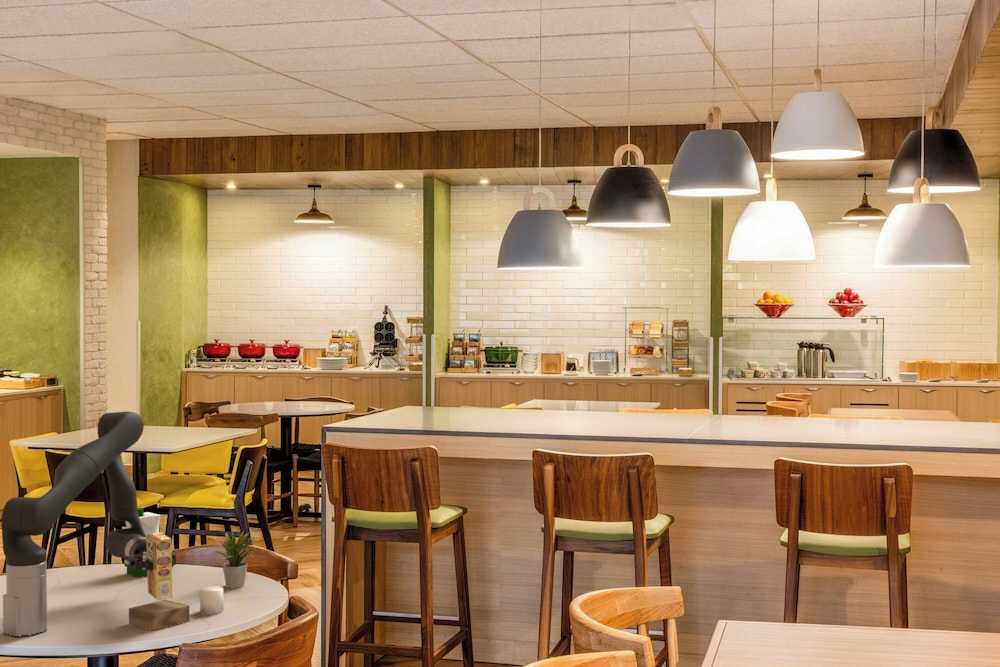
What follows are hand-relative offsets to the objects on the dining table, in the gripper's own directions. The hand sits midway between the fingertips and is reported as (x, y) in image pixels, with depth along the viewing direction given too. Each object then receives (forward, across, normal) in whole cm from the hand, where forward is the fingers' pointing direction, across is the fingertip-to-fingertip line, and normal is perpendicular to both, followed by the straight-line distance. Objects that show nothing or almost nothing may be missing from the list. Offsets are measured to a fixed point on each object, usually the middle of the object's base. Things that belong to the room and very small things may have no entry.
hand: (161, 565), depth 287 cm
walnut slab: (-1, 0, +15) cm, 15 cm away
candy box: (-2, 0, +8) cm, 8 cm away
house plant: (-27, +29, +16) cm, 43 cm away
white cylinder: (-5, +14, +15) cm, 21 cm away
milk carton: (-58, +11, +16) cm, 61 cm away
